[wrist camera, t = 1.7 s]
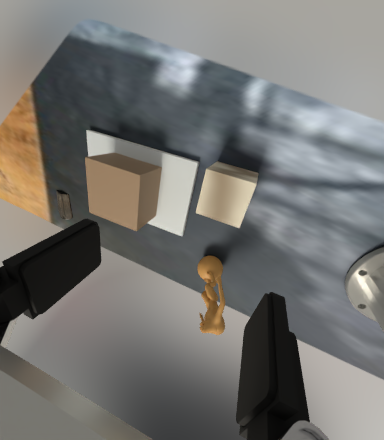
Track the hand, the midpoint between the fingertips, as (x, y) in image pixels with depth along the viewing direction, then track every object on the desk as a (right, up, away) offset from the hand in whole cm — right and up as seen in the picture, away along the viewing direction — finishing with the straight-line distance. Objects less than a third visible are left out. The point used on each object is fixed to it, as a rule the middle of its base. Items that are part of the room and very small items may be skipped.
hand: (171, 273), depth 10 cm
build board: (-7, +9, +20) cm, 23 cm away
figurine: (+6, -4, +21) cm, 22 cm away
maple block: (+6, +7, +15) cm, 18 cm away
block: (-25, +6, +29) cm, 39 cm away
